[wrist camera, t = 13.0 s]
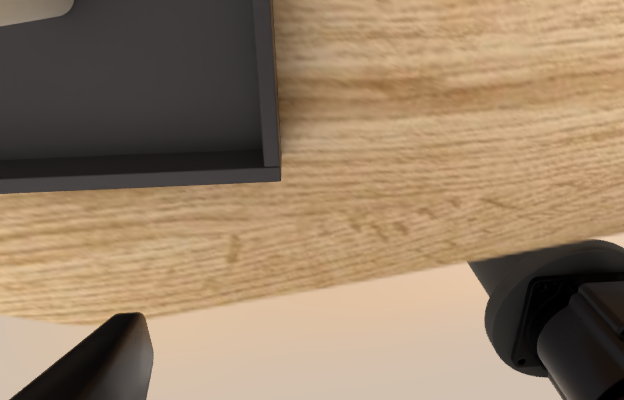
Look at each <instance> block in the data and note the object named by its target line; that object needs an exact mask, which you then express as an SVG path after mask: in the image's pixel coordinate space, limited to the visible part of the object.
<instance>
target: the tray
mask: <svg viewBox="0 0 624 400" xmlns="http://www.w3.org/2000/svg"><path fill="white" fill-rule="evenodd" d="M279 181H281V139H280V122H279V104H278V87H277V70H276V53H275V35H274V18H273V1H272V0H74V3H73V5H72V7H71V9H70V10H69V11H68V12H67V13H65V14H64V15H61V16H58V17H52V18H46V19H40V20H35V21H29V22H23V23H17V24H12V25H6V26H0V194H8V193H31V192H53V191H76V190H98V189H121V188H144V187H166V186H189V185H211V184H234V183H256V182H279Z"/></svg>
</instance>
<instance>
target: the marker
mask: <svg viewBox="0 0 624 400" xmlns="http://www.w3.org/2000/svg"><path fill="white" fill-rule="evenodd" d="M73 3H74V0H0V26H6V25H12V24H17V23H23V22H29V21H35V20H40V19H46V18H52V17H58V16H61V15H64V14H65V13H67V12H68V11H69V10H70V9H71V7H72V5H73Z"/></svg>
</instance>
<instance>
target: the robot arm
mask: <svg viewBox="0 0 624 400" xmlns="http://www.w3.org/2000/svg"><path fill="white" fill-rule="evenodd" d="M539 285H540V286H539ZM537 286H539V287H537ZM511 361H512V362H513V364H514V365H515V367H518V368H524V367H540V366H541V367H542V369H543V370H544V372H545V373H546V375H547V376H548V378H549V379H550V381H551V382H552V384H553V385H554V387H555V388H556V390H557V391H558V393H559V394H560V396H561V398H562V399H563V400H624V272H607V273H588V274H571V275H552V276H538V277H535V278H533V279H531V280H530V282H529V284H528V288H527V292H526V296H525V300H524V304H523V308H522V313H521V317H520V321H519V325H518V329H517V333H516V337H515V342H514V346H513V350H512V354H511ZM152 366H153V348H152V343H151V339H150V335H149V331H148V327H147V323H146V319H145V317H144V315H143V314H142V313H140V312H132V313H119V314H116V315H114V316H112V317H111V318H110V319H109V320H107V321H106V322H105V323H104V324H102V325H101V326H100V327H99V328H97V329H96V330H95V331H94V332H93V333H91V334H90V335H89V336H88V337H86V338H85V339H84V340H83V341H81V342H80V343H79V344H78V345H77V346H75V347H74V348H73V349H72V350H70V351H69V352H68V353H67V354H65V355H64V356H63V357H62V358H60V359H59V360H58V361H57V362H55V363H54V364H53V365H52V366H51V367H49V368H48V369H47V370H45V371H44V372H43V373H42V374H41V375H39V376H38V377H37V378H36V379H34V380H33V381H32V382H31V383H29V384H28V385H27V386H26V387H24V388H23V389H22V390H21V391H19V392H18V393H17V394H16V395H15V396H13V397H12V398H11V399H10V400H146V398H147V392H148V387H149V382H150V377H151V371H152Z"/></svg>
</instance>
